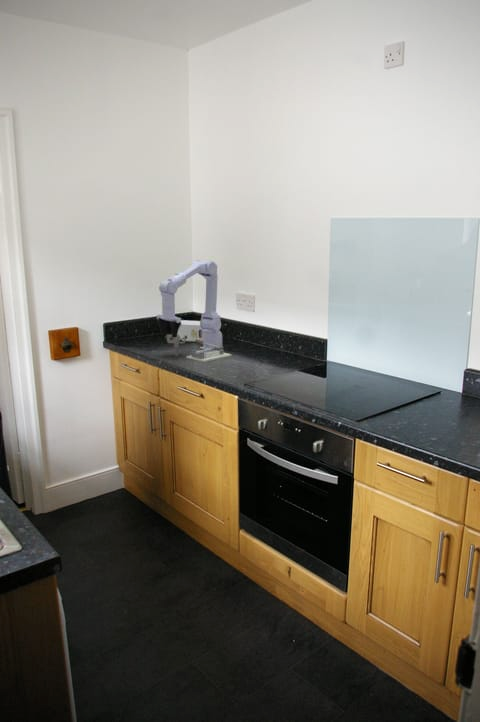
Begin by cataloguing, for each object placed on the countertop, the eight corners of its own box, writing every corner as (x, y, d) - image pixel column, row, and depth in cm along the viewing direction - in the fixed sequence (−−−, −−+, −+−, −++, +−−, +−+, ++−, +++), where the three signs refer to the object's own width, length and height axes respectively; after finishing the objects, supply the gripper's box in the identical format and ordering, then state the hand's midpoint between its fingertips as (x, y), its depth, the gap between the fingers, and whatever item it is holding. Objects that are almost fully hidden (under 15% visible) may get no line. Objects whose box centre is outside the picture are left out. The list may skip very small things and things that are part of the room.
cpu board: (213, 352, 286) (213, 344, 285) (231, 356, 278) (231, 348, 277) (186, 358, 273) (186, 350, 272) (204, 362, 265) (204, 354, 264)
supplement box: (172, 340, 314) (172, 323, 312) (179, 336, 327) (179, 319, 325) (203, 342, 311) (203, 324, 309) (208, 337, 324) (208, 320, 322)
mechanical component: (186, 356, 276) (186, 335, 274) (165, 356, 276) (164, 335, 274) (187, 355, 279) (187, 334, 277) (166, 354, 279) (165, 334, 277)
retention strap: (215, 347, 281) (215, 345, 281) (221, 349, 278) (222, 346, 278) (194, 341, 270) (195, 339, 270) (201, 342, 267) (201, 340, 267)
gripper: (151, 306, 270) (152, 335, 274) (172, 309, 261) (172, 339, 264) (163, 304, 276) (163, 333, 279) (184, 308, 266) (184, 337, 269)
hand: (169, 336), depth 272 cm, fingers open, 7 cm apart
